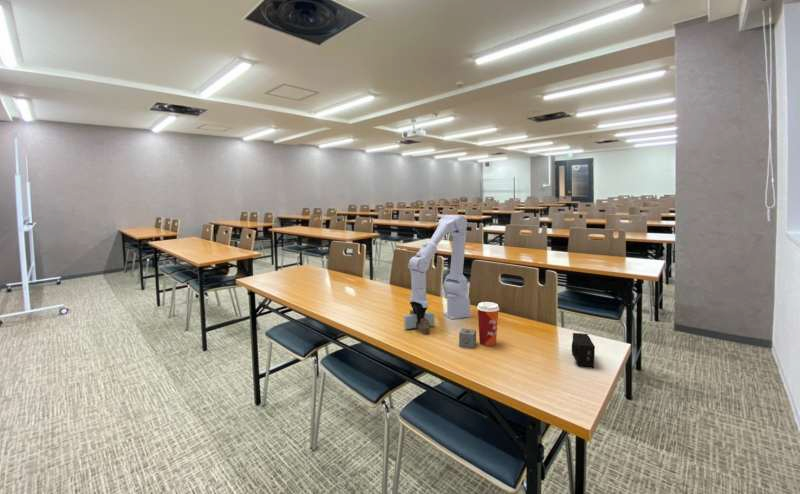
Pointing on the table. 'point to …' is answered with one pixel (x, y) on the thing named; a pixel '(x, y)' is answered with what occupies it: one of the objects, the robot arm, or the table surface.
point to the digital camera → (583, 350)
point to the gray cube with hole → (467, 338)
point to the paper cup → (487, 322)
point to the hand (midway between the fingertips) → (419, 320)
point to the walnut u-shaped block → (422, 325)
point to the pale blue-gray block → (411, 320)
